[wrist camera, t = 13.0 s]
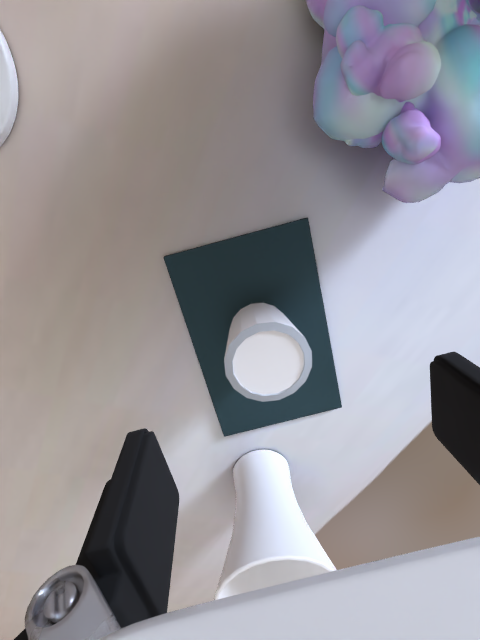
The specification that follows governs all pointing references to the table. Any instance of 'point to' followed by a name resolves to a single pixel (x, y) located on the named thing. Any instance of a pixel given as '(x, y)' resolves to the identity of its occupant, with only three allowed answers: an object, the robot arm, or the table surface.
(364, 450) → the table surface
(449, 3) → the pastel bubbly cloud
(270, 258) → the mat
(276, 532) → the cup
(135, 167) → the table surface
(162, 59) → the table surface
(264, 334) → the shot glass
